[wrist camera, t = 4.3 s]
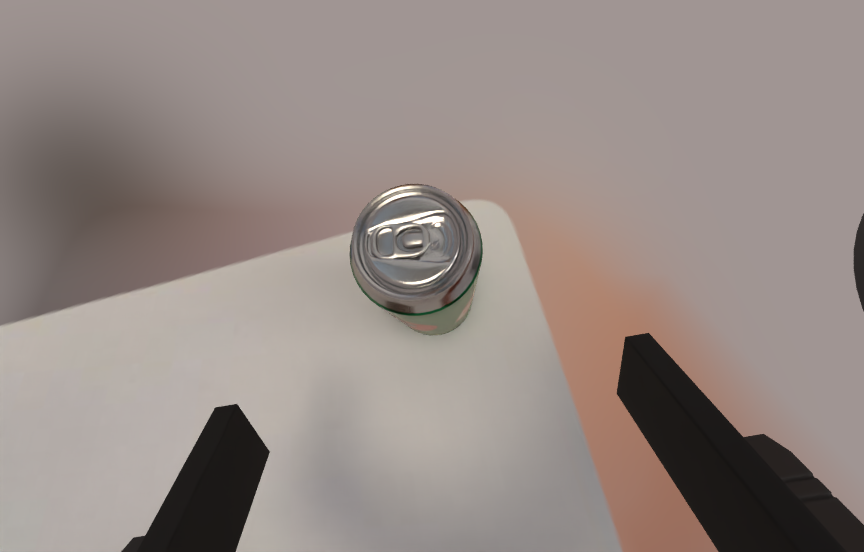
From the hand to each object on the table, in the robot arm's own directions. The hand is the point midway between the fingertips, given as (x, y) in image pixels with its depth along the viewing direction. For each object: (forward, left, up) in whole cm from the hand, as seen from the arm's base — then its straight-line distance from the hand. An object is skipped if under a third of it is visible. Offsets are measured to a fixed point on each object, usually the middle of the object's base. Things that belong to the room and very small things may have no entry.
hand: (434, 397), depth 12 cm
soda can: (-1, -5, -11) cm, 12 cm away
